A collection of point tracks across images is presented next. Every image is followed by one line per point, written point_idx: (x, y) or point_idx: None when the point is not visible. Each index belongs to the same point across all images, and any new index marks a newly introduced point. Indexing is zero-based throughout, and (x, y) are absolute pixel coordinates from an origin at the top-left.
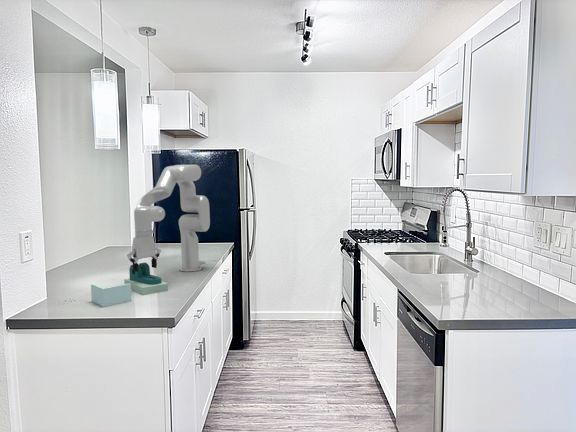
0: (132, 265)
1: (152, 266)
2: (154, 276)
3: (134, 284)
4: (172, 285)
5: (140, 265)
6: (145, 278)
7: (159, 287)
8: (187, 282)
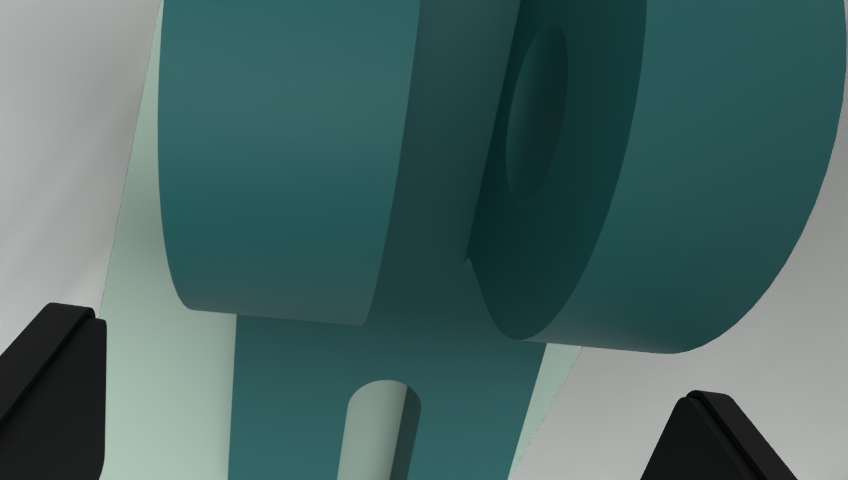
0: (173, 57)
1: (679, 438)
2: (477, 444)
3: (114, 251)
4: (652, 409)
5: (599, 82)
6: (267, 430)
7: None
8: (841, 449)
